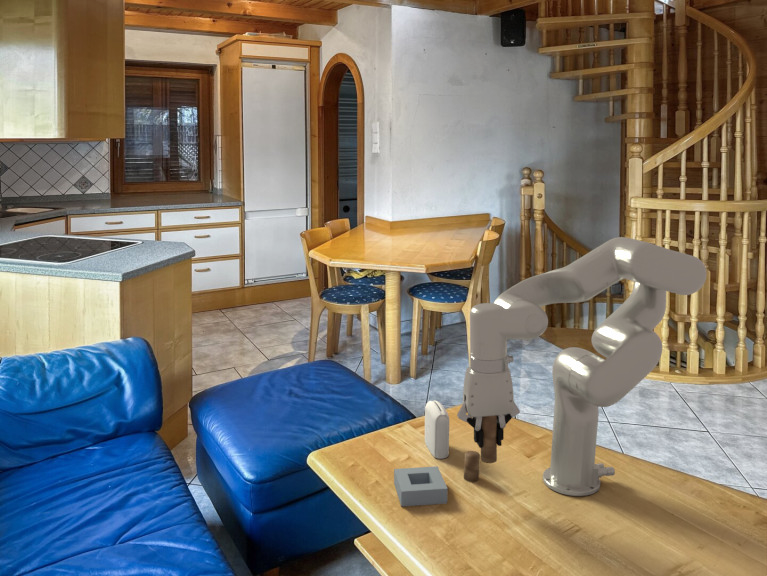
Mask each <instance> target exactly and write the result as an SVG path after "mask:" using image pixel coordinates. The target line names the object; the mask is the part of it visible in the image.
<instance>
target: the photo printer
mask: <svg viewBox="0 0 767 576" xmlns="http://www.w3.org/2000/svg"><path fill="white" fill-rule="evenodd" d="M424 444H425V447H426V448H427V449H428V451H429V452H430V454H431V455H432V456H433V458H436V459H441V460H442V459H446V458H447V457H449V453H450V416H449V413H448V411H447V409H446V407H444V405H443V404H442V403H441V402H440V401H437V400H429V401H427V402H426V404H425V407H424Z"/></svg>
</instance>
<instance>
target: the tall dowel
mask: <svg viewBox="0 0 767 576" xmlns="http://www.w3.org/2000/svg"><path fill="white" fill-rule="evenodd" d="M481 429H482V430H483V447H482V448H480V461H481V462H482V463H485V464H493V463H496V462H497V459H498V458H497V457H498V456H497V454H498V445H497V416H487V417H482V422H481Z"/></svg>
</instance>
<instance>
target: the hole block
mask: <svg viewBox="0 0 767 576" xmlns="http://www.w3.org/2000/svg"><path fill="white" fill-rule="evenodd" d="M393 469H394V470H393V471H394V472H393V485H394V488H395V490H396V495H397V496H398V500H399V501H398V502H399V503H400V507H414V506H427V505H429V506H430V505H443V504H448V487H447V484H446V482H445V480H444V478H443V475H442V473H441V471H440V469H439V466H436V465H435V466H422V467H408V468H407V467H405V468H393Z"/></svg>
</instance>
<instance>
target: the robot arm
mask: <svg viewBox="0 0 767 576" xmlns="http://www.w3.org/2000/svg"><path fill="white" fill-rule="evenodd" d="M621 280H629V281H632V282H633V288H632V291H631V293H630V294H629V296H628V298H627V299H626V300H624V302H622V304H621V305H620V306H619V307H618V308H616V309H615V310H614V311H612V313H611V314H609V316H608V317H607V318H606V319H604V320H603V321H602V322H601V323H600V324H599V325H598V326H597V327H596V328H595V329H594V331H593V333H592V334H591V335H592V336H591V338H590V339H591V345H592V347H593V349H594V350H595V352H597V353H598V354H599V355H601V356H603V357H604V358H602V357H601V356H599V355H597V354H595V353H593V352H592V351H589V350H588V349H584V348H582V347H577V346H575V347H574V346H572V347H571V346H570V347H567V348H564V349H563V350H561V351H560V352H558V354H557V355H556V357H555V358H554V361H553V364H552V383H553V391H554V393H553V394H554V406H553V407H554V408H553V409H554V410H553V424H552V438H551V452H550V453H551V455H550V467H548V468H546V469H545V470H544V471H543V474H542V480H543V483H544V485H546V486H547V488H549V489H550V490H552V491H554V492H556V493H559V494H562V495H566V496H573V497H586V496H590V495H593V494H595V493H597V492H598V491H599V490H600V487H601V480H600V478H601V479H602V477H604V476H605V477H609V476H612V477H613V476H615V473H616V470H615V468H614V467H613V466H606V467H605V464H604V463H603V462H602V463H601V462H600V463H595V462H596V449H597V440H598V439H597V438H598V437H597V436H598V424H599V414H600V413H599V408H608V407H611V406H613V405H615V404H617V403H618V402H620V400H622V399H623V398H624V397H625V396H627V394H628V393H630V392H631V391H632V390H633V389H634V388H635V387H636V386H637V385H639V384H640V383H641V382H642V381H643V380H644V379H645V378H647V376H649V374H650V373H651V372H653V370H654V369H655V367H657V365H658V363H659V361H660V359H661V358H662V357H661V356H662V354H663V341H662V339H661V338H660V336H659V334H657V333H656V332H655V331H654V329H655V328H656V327H657V326H659V324H660V323H661V321H662V320H663V319H664V317H665V314H666V309H667V292H669V293H674V294H675V295H676V294H677V295H681V296H690V295H692V294H695V293H697V292H698V291H700V290H701V289H702V288H703V286H704V285H705V282H706V280H707V268H706V266H705V264H704V263H703V261H702V260H701V259H700V258H698V257H697V256H694V255H690V254H687V253H683V252H681V251H677V250H676V251H675V250H672V249H670V248H666V247H663V246H660V245H656V244H654V243H651V242H647V241H644V240H639V239H634V238H630V237H625V236H619V237H618V236H617V237H614V238H611V239H609V240H607V241H605V242H603V243H602V244H600V245H598V246H597V247H595V248H594V249H592V250H590V251H589V252H587V253H586V254H584V255H583V256H581V257H579V258H577V259H576V260H574V261H572V262H571V263H569V264H568V265H566V266H564V267H560V268H556V269H553V270H549V271H547V272H543V273H540V274H537V275H534V276H531V277H528V278H526V279H523V280H521V281H520V282H518V283H516V284H515V285H512V286H511V287H510V288H507V289H506V290H504V291H503V292H501V294H500V295H498V296H497V297H496V298H495V300H494V301H493V302H492V303H491V302H483V303H478V304H475V305H474V306H472V308H471V309H470V312H469V348H470V349H469V351H470V352H469V363H470V365H469V366H467V368H466V369H465V374H464V380H463V390H462V405H461V407H460V409H459V411H458V412H457V414H456V416H457V418H458V419H459V420H461V421H463V422H465V423H467V424H468V425H469V426H471V428H473V441H474V443H475V444H477V446H478V448H479V449H481V448H482V447H483V430H482V429H481V422H482V417H487V416H497V447H502V441H504V435H505V434H504V431H505V430H504V428H506V426H507V424H508V423H509V422H510V421H511V420H512V418H515V417H516V416H517V415H518V414H520V413H521V410H520V408H519V407H518V405H517V404H516V402H515V400H514V388H513V380H512V374H511V369H510V367H509V364H510V363H513V362H514V356H513V355H510V354H509V355H508V343H507V342H508V340H534V339H536V338H538V337H540V336H542V335H543V334H544V333H545V331H546V330H547V329H548V325H549V318H548V315H547V313H546V311H544V309H543V308H542V307H544V306H547V305H552V304H562V303H563V304H570V303H571V304H572V303H573V304H574V303H583V302H588V301H590V300H591V299H593V298H594V297H595V296H597V295H599V294H600V293H602V292H603V291H605V290H607V289H609V288H610V287H612V286H614V285H615V284H616V283H618V282H620V281H621Z"/></svg>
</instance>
